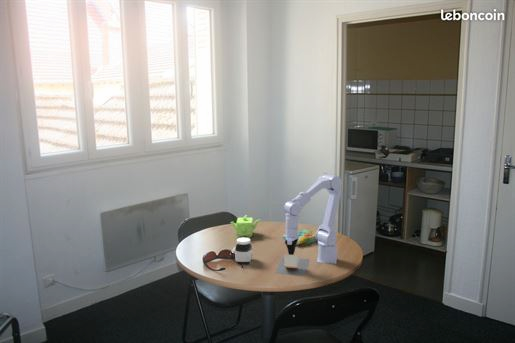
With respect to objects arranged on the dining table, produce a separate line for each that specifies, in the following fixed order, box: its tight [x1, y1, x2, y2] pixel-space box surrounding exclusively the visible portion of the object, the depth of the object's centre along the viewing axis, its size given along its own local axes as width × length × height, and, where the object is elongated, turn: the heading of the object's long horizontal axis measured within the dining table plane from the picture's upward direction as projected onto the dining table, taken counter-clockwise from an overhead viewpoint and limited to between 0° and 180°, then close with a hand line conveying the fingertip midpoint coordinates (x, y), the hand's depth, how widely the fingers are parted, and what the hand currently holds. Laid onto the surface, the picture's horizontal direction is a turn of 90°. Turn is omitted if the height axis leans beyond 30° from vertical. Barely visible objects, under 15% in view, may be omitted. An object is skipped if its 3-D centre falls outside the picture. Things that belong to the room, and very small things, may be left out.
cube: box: [284, 253, 300, 269], centre depth 211 cm, size 6×6×6 cm
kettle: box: [230, 214, 261, 239], centre depth 261 cm, size 15×14×11 cm
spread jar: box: [230, 237, 253, 265], centre depth 223 cm, size 12×11×12 cm
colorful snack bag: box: [281, 228, 318, 247], centre depth 251 cm, size 12×5×20 cm
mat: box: [274, 256, 310, 276], centre depth 216 cm, size 14×20×1 cm
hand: (291, 254), depth 211 cm, fingers closed
